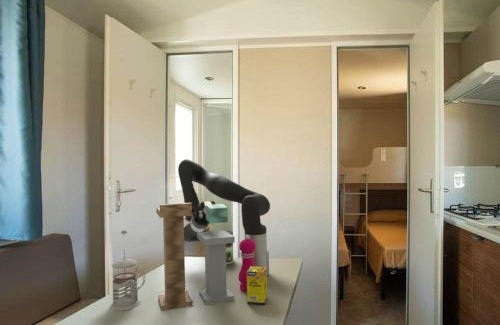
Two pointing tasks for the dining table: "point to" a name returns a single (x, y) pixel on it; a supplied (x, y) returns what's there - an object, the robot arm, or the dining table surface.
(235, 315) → the dining table surface
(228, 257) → the coffee can
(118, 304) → the french press
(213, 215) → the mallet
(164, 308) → the walnut stand
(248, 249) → the pepper mill
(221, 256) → the slate pedestal
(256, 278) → the supplement box
